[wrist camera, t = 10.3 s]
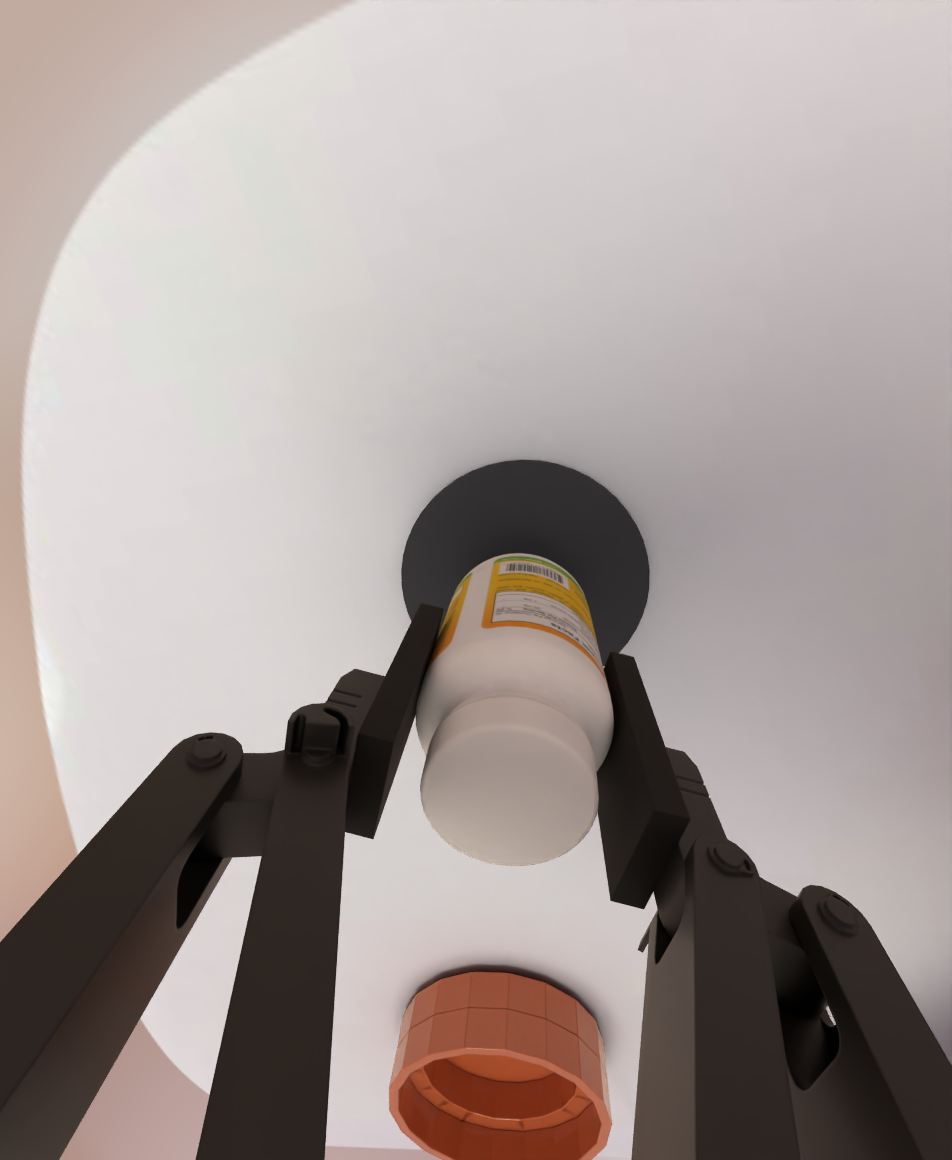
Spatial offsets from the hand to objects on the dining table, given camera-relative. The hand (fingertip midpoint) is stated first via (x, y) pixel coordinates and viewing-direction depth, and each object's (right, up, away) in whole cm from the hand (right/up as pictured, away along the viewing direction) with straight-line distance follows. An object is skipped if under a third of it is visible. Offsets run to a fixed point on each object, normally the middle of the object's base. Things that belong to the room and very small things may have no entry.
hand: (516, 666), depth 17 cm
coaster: (+1, +3, +7) cm, 8 cm away
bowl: (0, -28, +19) cm, 33 cm away
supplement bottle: (0, +2, +4) cm, 4 cm away
